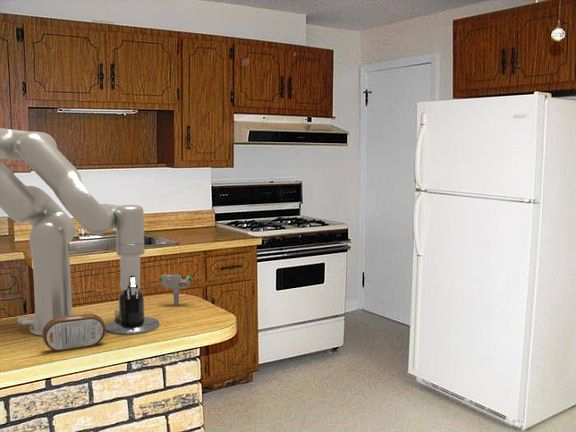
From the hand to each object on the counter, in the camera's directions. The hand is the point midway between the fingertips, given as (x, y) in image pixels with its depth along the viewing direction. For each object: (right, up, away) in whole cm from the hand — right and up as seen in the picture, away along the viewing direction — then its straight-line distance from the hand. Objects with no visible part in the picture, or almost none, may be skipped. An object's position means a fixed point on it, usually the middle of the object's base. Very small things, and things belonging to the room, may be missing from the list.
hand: (131, 308), depth 165 cm
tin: (-10, -8, -17) cm, 21 cm away
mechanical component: (+8, -3, +22) cm, 24 cm away
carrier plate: (0, -5, +1) cm, 5 cm away
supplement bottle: (0, -5, +1) cm, 5 cm away
